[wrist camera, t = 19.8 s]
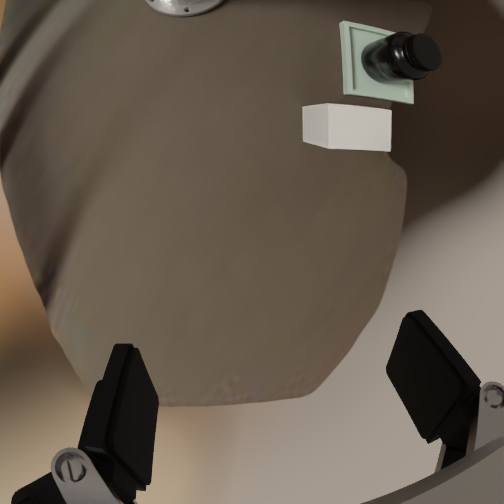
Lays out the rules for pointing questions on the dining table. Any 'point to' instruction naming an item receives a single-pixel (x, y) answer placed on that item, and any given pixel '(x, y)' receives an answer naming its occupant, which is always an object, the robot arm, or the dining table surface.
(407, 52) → the supplement bottle
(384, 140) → the unit
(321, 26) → the dining table surface
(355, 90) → the tray
